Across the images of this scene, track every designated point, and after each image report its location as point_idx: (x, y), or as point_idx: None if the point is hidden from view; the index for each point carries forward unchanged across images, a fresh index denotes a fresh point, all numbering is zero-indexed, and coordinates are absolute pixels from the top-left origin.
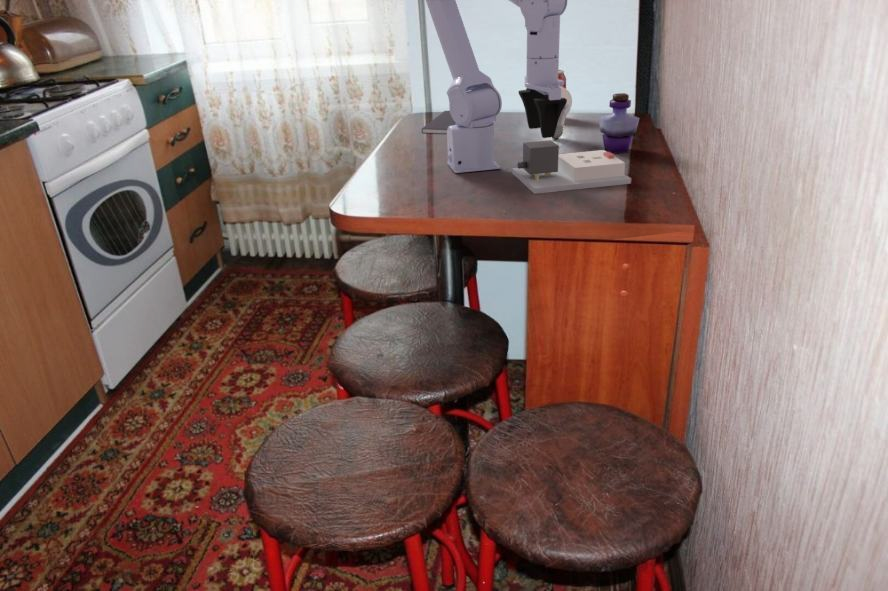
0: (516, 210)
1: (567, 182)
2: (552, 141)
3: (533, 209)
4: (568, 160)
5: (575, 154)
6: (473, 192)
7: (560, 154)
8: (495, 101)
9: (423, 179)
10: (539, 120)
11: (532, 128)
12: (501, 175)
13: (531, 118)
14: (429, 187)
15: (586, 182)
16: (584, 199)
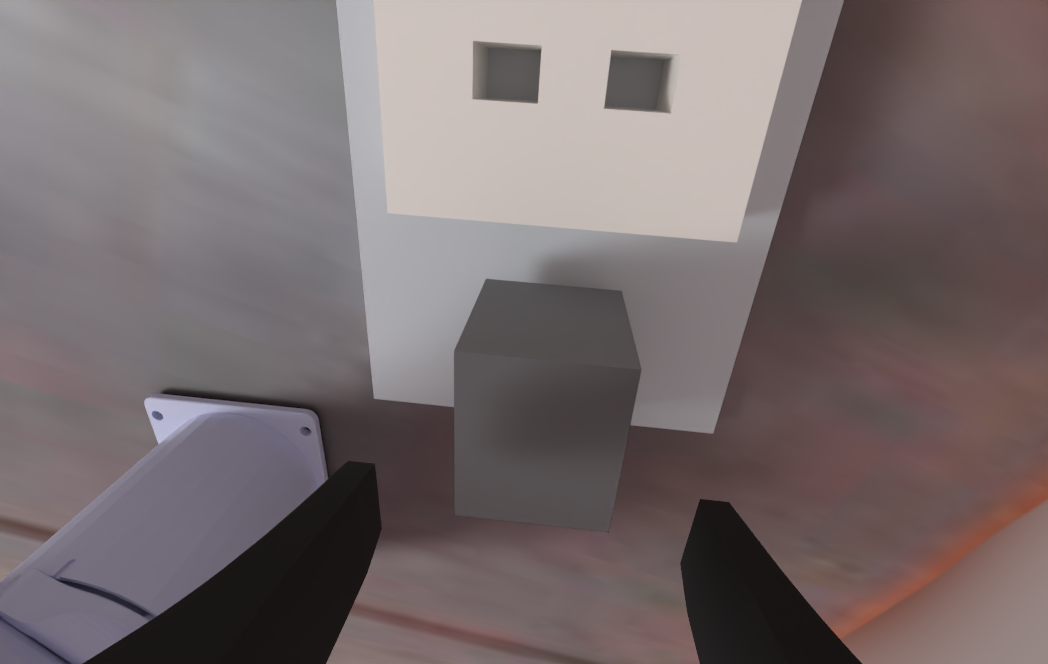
0: (842, 532)
1: (717, 266)
2: (500, 357)
3: (875, 487)
4: (558, 203)
5: (427, 79)
6: (574, 568)
7: (395, 186)
8: None
9: (375, 628)
10: (348, 521)
11: (379, 515)
12: (402, 430)
13: (342, 597)
14: (466, 638)
15: (779, 167)
16: (924, 261)
